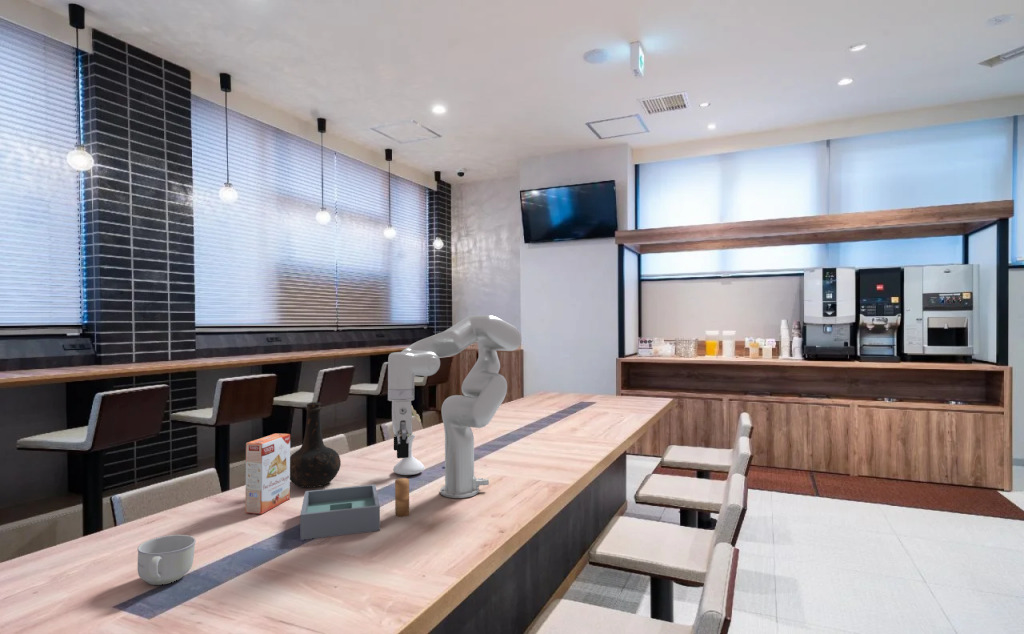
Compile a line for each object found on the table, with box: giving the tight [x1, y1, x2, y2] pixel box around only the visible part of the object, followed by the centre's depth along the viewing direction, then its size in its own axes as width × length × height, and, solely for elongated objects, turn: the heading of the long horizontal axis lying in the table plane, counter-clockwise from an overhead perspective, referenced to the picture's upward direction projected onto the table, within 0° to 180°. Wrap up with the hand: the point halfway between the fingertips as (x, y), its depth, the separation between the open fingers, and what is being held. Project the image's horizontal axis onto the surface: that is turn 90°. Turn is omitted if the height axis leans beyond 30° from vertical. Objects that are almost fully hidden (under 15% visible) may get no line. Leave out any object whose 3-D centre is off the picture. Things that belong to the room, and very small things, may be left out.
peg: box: [394, 477, 410, 518], centre depth 157 cm, size 4×4×10 cm
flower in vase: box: [392, 404, 425, 476], centre depth 199 cm, size 13×11×25 cm
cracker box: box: [245, 433, 291, 515], centre depth 165 cm, size 14×6×21 cm, turn 168°
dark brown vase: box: [290, 402, 342, 489], centre depth 186 cm, size 18×18×28 cm
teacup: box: [137, 534, 196, 586], centre depth 118 cm, size 14×11×8 cm
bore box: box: [299, 484, 381, 541], centre depth 152 cm, size 20×20×6 cm
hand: (400, 453), depth 157 cm, fingers open, 9 cm apart
